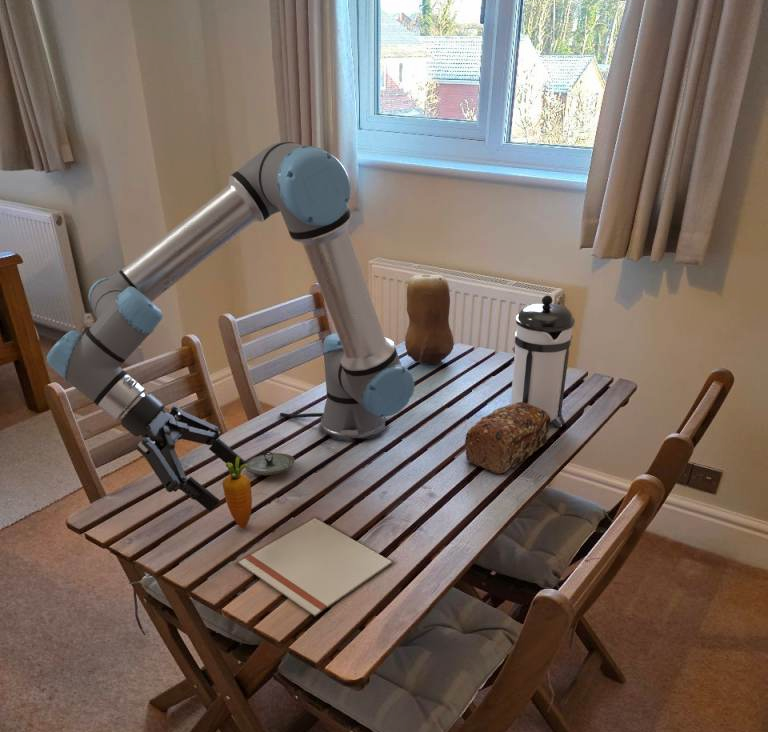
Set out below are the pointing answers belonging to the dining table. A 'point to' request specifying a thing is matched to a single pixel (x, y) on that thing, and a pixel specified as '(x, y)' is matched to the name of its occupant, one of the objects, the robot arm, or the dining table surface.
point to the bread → (507, 436)
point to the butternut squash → (428, 319)
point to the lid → (269, 463)
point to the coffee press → (542, 356)
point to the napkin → (315, 565)
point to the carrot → (238, 494)
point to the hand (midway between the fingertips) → (228, 485)
